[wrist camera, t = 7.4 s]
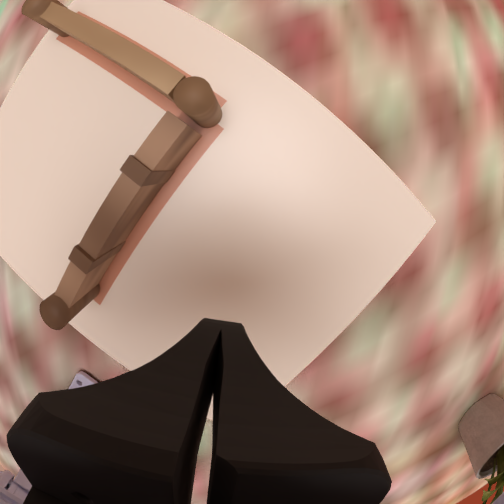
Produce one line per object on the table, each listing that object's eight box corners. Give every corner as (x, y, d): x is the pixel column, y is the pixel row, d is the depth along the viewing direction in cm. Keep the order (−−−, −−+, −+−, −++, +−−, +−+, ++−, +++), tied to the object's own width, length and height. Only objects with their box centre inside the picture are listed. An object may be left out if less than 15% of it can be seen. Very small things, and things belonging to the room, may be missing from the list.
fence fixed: (208, 135, 14) (192, 121, 10) (55, 32, 12) (17, 11, 8) (229, 110, 14) (221, 87, 10) (71, 13, 11) (36, -13, 7)
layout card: (230, 427, 19) (230, 431, 19) (-36, 207, 15) (-39, 208, 14) (433, 220, 15) (436, 221, 15) (100, -25, 11) (98, -27, 11)
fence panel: (181, 120, 14) (158, 103, 10) (206, 139, 14) (191, 127, 10) (73, 286, 16) (36, 314, 12) (93, 303, 16) (59, 335, 12)
